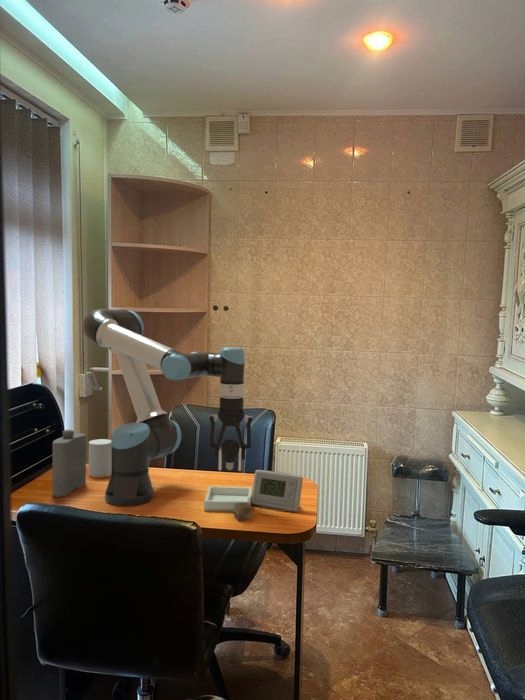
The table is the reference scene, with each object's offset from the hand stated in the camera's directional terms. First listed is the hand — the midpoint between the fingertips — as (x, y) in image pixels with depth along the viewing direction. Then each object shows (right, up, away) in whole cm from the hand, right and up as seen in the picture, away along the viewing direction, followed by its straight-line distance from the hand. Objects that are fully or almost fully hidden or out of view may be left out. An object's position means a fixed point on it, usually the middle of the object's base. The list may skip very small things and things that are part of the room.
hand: (229, 469), depth 165 cm
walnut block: (+5, -12, -11) cm, 17 cm away
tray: (0, -11, +1) cm, 11 cm away
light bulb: (0, -1, 0) cm, 1 cm away
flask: (-54, -9, +9) cm, 56 cm away
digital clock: (+15, -12, -1) cm, 19 cm away
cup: (-49, -8, +27) cm, 57 cm away
